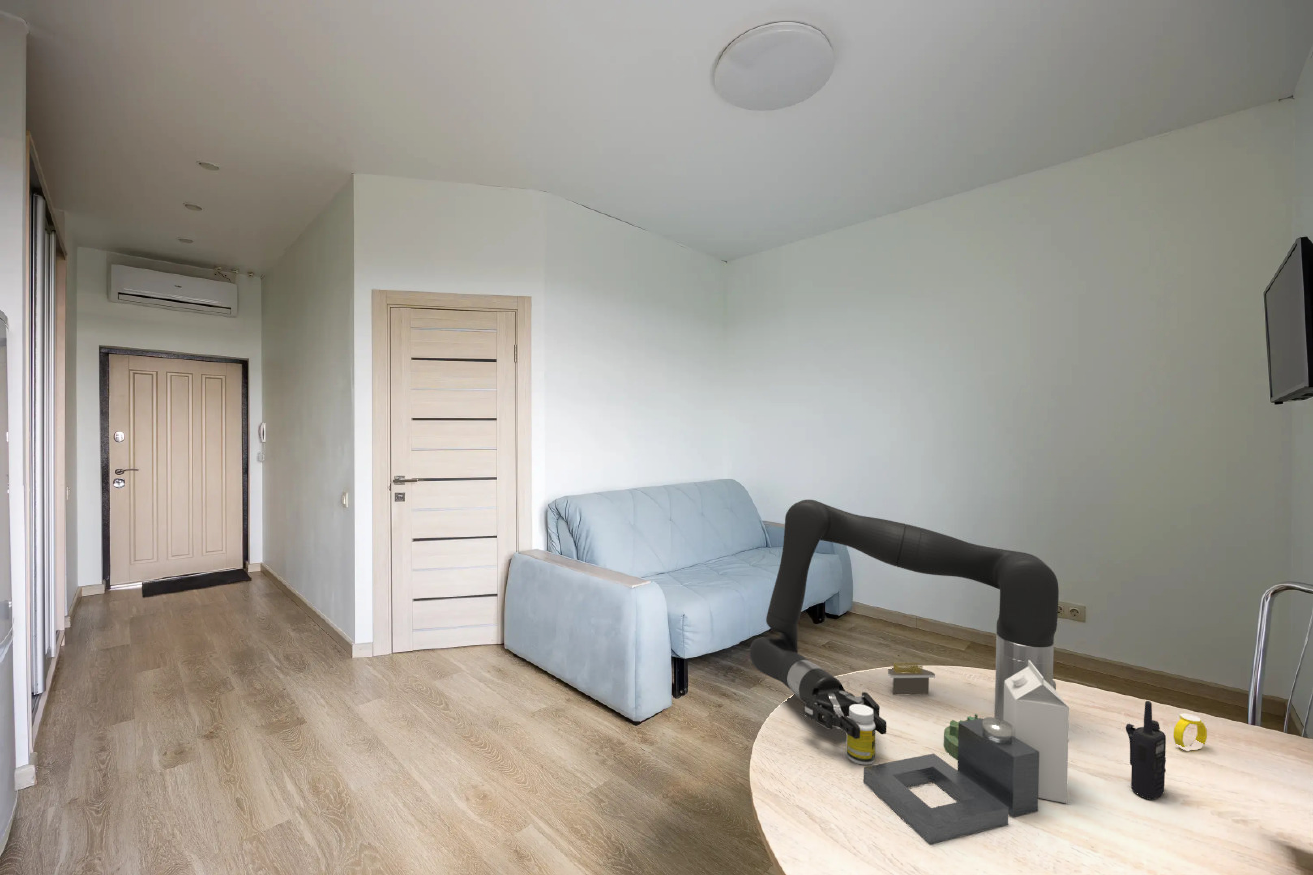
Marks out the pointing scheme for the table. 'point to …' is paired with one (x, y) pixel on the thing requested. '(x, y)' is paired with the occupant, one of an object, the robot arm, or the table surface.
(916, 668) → the platform
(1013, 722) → the milk carton
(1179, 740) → the watch
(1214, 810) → the table surface
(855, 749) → the supplement bottle
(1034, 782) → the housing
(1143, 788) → the two-way radio
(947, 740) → the decorative artifact
